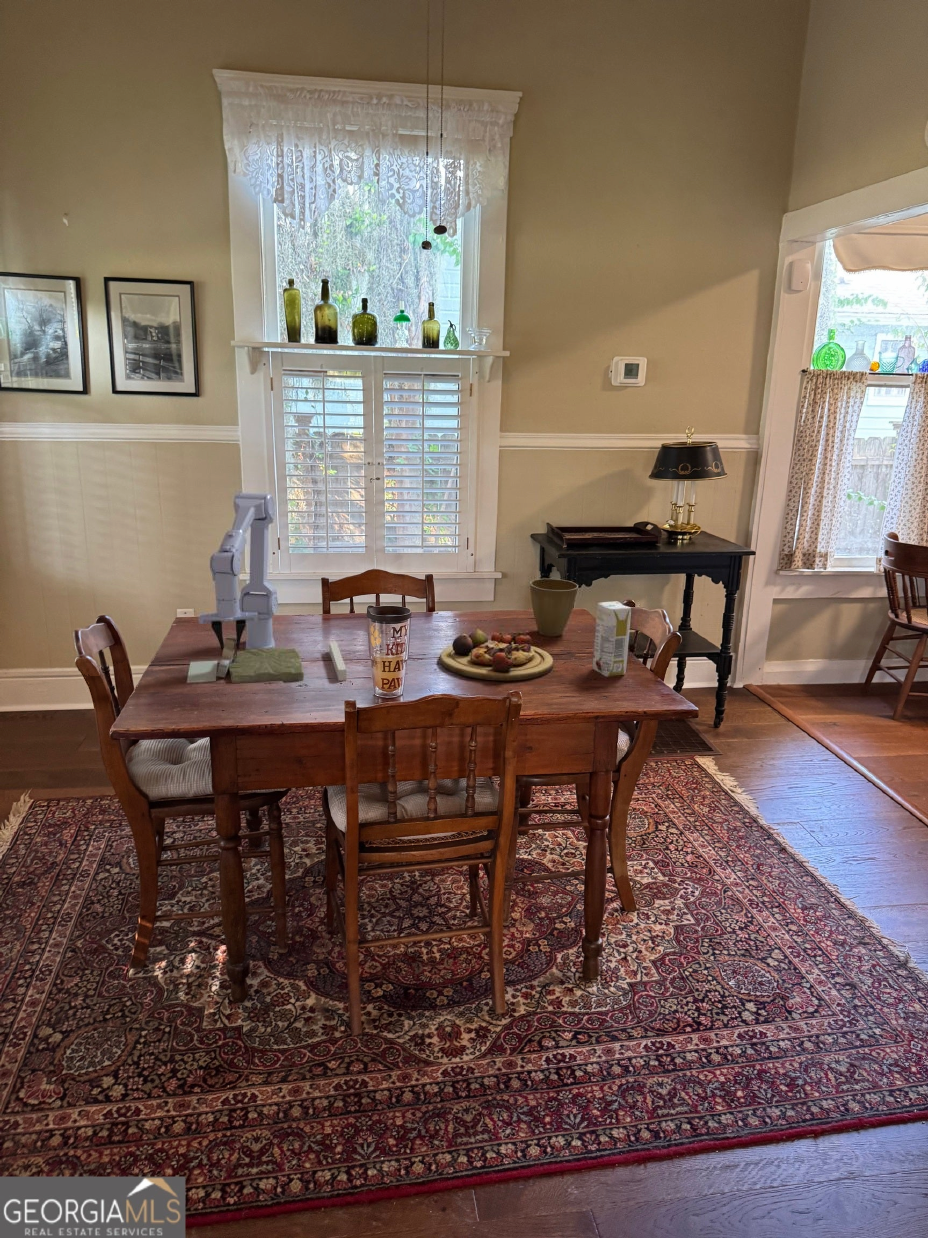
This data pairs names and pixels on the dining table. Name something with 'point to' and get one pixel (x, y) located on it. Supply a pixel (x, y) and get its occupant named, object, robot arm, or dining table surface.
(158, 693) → the dining table surface
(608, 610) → the juice carton
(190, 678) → the mat
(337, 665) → the rail
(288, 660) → the decorative tile
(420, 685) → the dining table surface
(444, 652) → the wooden plate with food
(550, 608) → the plant pot
